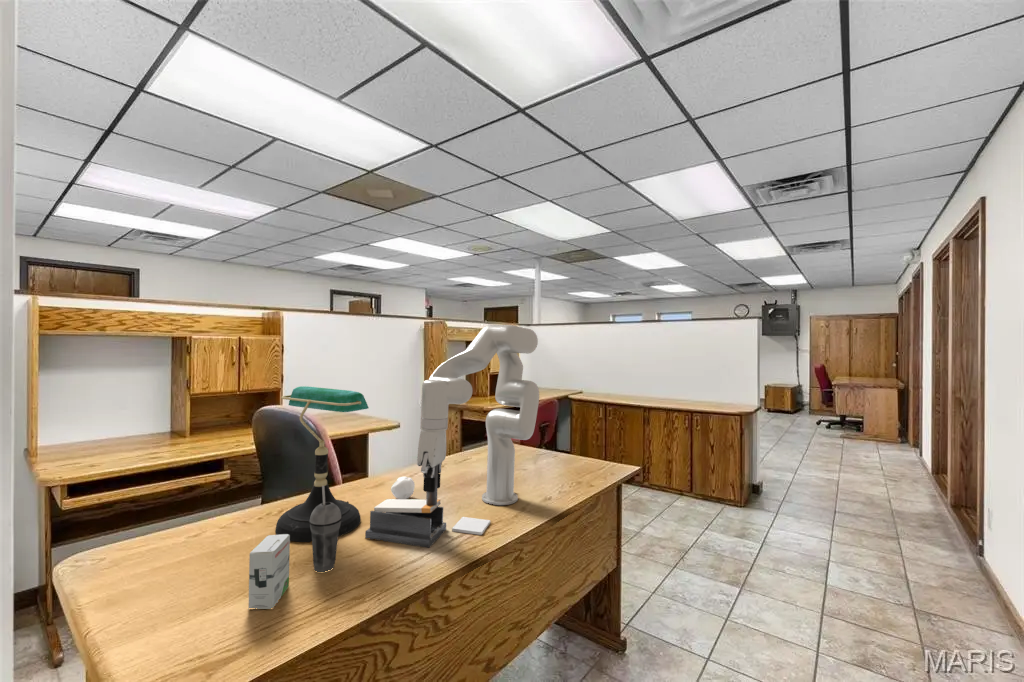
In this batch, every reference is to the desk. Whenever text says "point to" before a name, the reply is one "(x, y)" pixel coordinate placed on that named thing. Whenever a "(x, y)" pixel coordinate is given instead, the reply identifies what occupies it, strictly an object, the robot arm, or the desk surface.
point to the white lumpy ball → (403, 488)
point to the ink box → (269, 571)
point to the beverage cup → (325, 534)
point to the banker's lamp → (320, 463)
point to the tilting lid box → (407, 527)
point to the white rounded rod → (432, 496)
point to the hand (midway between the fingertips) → (431, 488)
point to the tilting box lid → (405, 506)
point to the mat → (471, 525)
